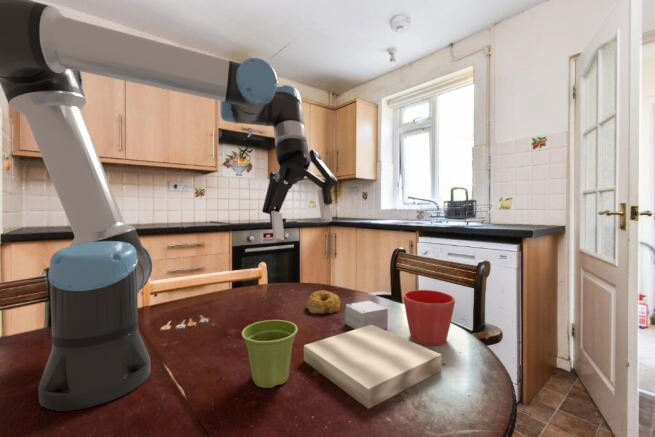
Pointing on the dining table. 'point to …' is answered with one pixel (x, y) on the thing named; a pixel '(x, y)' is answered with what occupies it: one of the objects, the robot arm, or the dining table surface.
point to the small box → (366, 315)
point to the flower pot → (429, 315)
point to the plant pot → (270, 351)
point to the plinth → (372, 363)
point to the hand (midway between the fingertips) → (301, 230)
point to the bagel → (323, 302)
